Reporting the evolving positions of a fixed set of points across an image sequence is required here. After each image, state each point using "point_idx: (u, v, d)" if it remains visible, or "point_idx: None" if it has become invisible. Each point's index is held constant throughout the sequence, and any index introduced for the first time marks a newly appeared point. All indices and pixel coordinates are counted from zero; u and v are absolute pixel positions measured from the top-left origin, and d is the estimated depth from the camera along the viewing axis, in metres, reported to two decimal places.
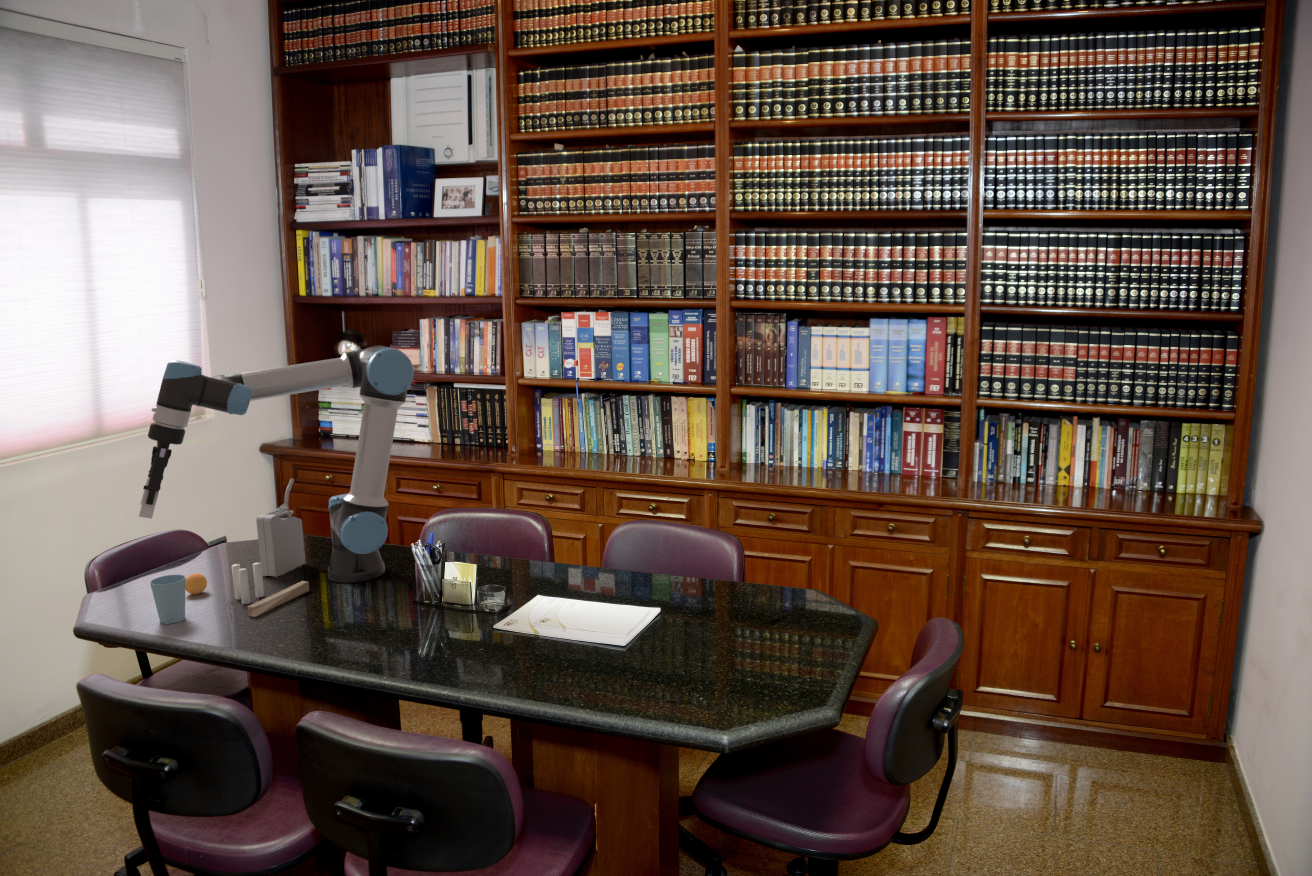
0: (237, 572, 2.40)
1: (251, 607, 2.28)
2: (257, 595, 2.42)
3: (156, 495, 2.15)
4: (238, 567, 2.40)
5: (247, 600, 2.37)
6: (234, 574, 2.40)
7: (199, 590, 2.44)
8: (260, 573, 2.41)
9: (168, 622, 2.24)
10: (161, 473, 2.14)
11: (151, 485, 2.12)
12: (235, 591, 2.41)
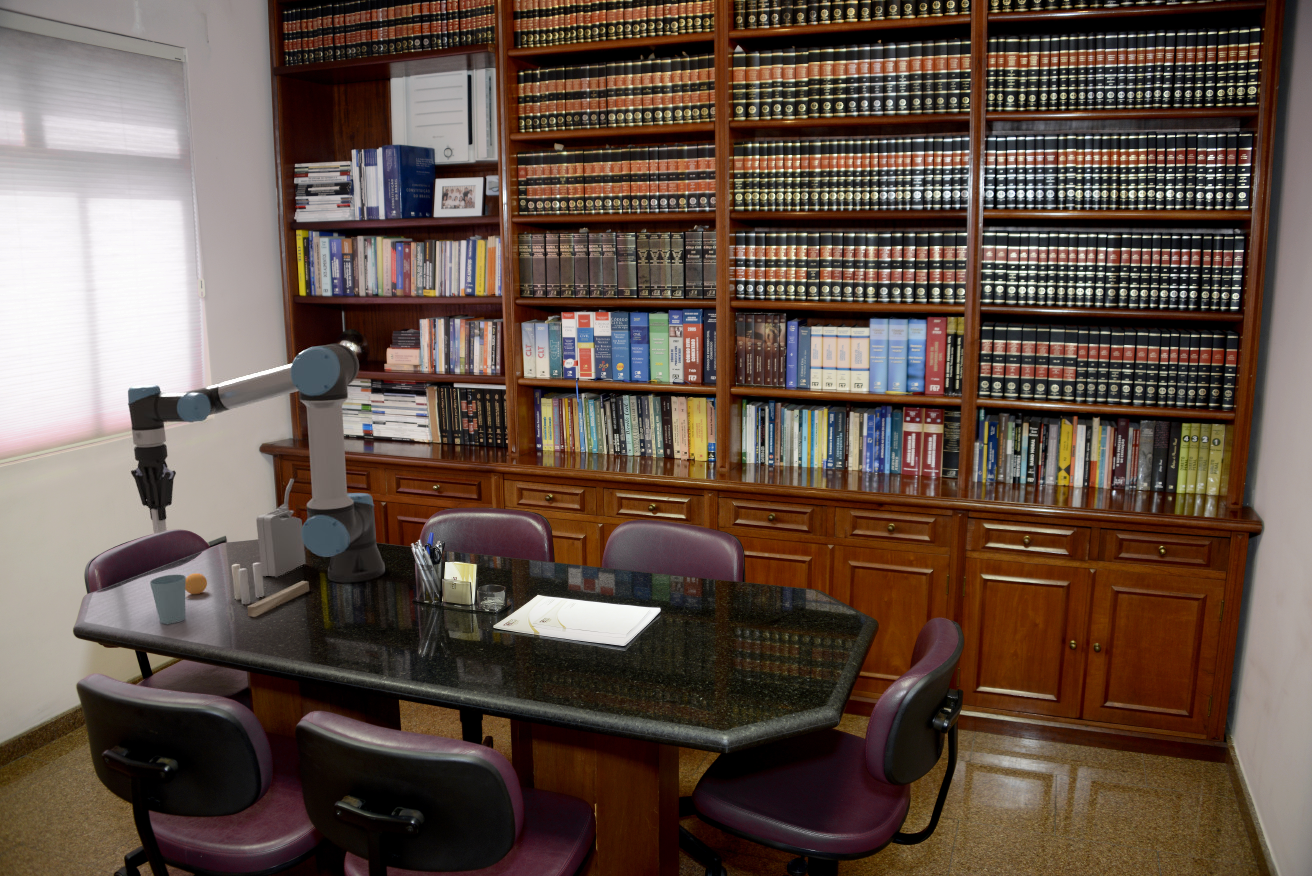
0: (237, 572, 2.40)
1: (251, 607, 2.28)
2: (257, 595, 2.42)
3: None
4: (238, 567, 2.40)
5: (247, 600, 2.37)
6: (234, 574, 2.40)
7: (199, 590, 2.44)
8: (260, 573, 2.41)
9: (168, 622, 2.24)
10: (171, 492, 2.44)
11: (165, 503, 2.44)
12: (235, 591, 2.41)
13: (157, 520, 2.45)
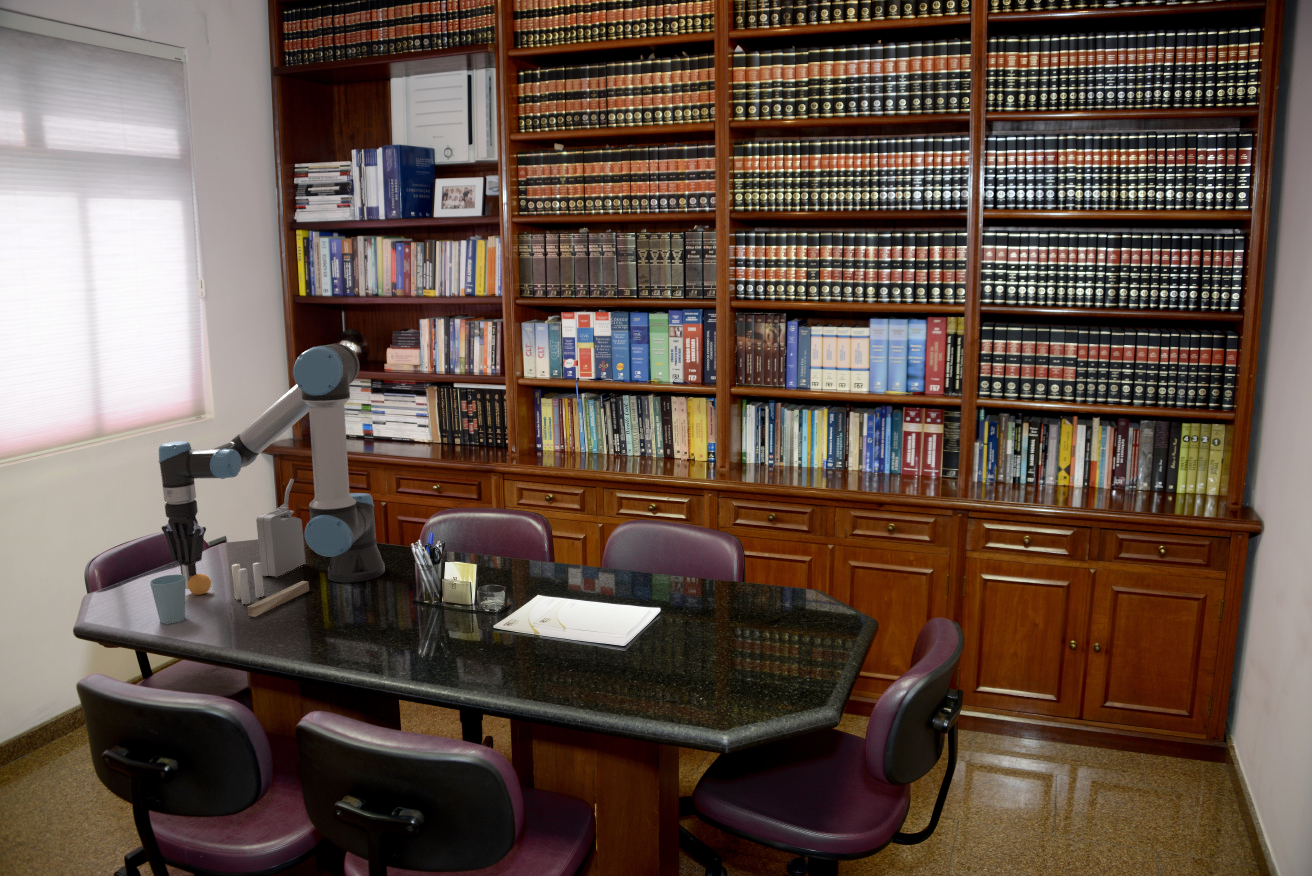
0: (237, 572, 2.40)
1: (251, 607, 2.28)
2: (257, 595, 2.42)
3: None
4: (238, 567, 2.40)
5: (247, 600, 2.37)
6: (234, 574, 2.40)
7: (202, 592, 2.44)
8: (260, 573, 2.41)
9: (168, 622, 2.24)
10: (201, 548, 2.44)
11: (195, 559, 2.44)
12: (235, 591, 2.41)
13: (187, 576, 2.45)
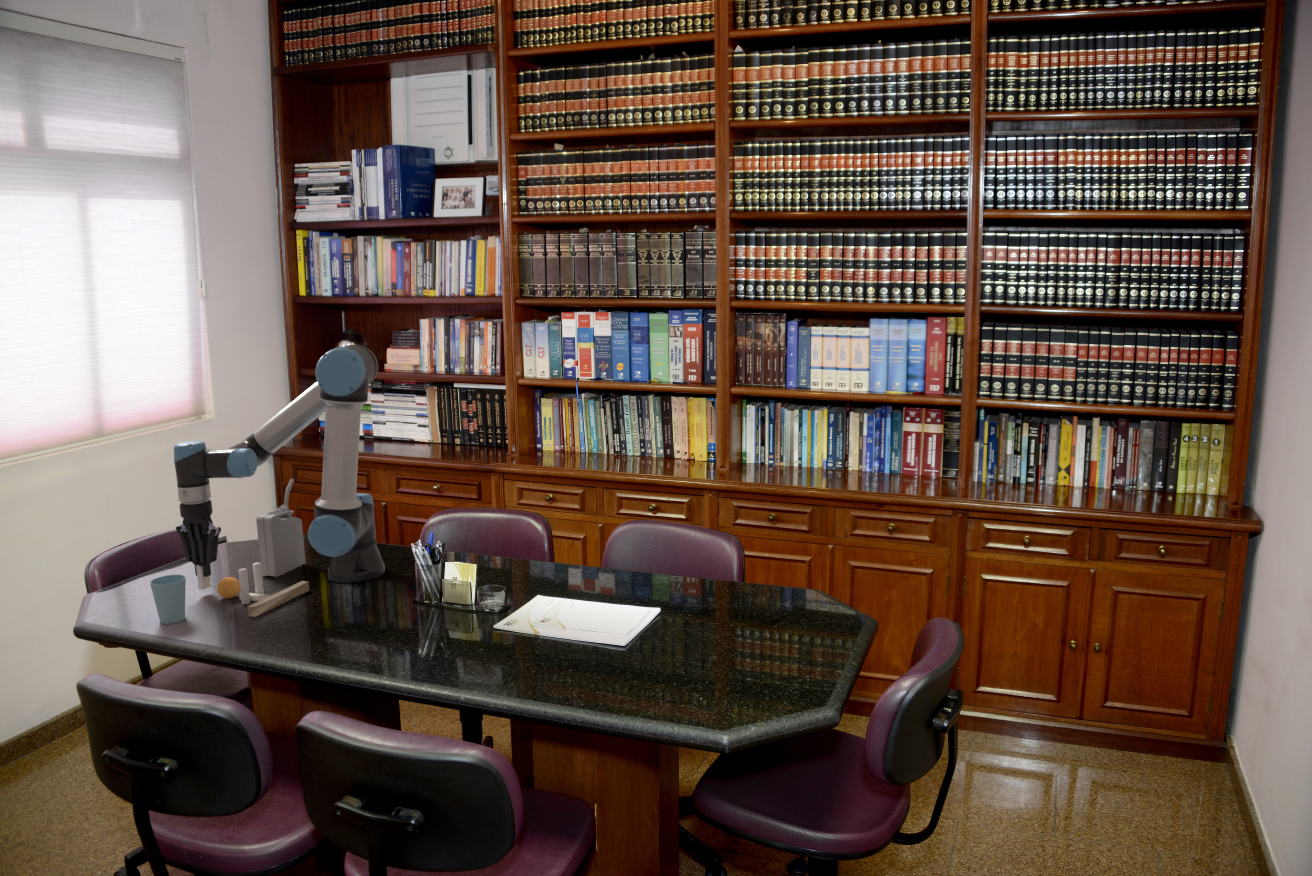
0: None
1: (251, 607, 2.28)
2: None
3: None
4: None
5: (247, 600, 2.37)
6: None
7: (220, 581, 2.41)
8: (260, 573, 2.41)
9: (168, 622, 2.24)
10: (216, 548, 2.42)
11: (210, 559, 2.42)
12: None
13: (202, 576, 2.43)
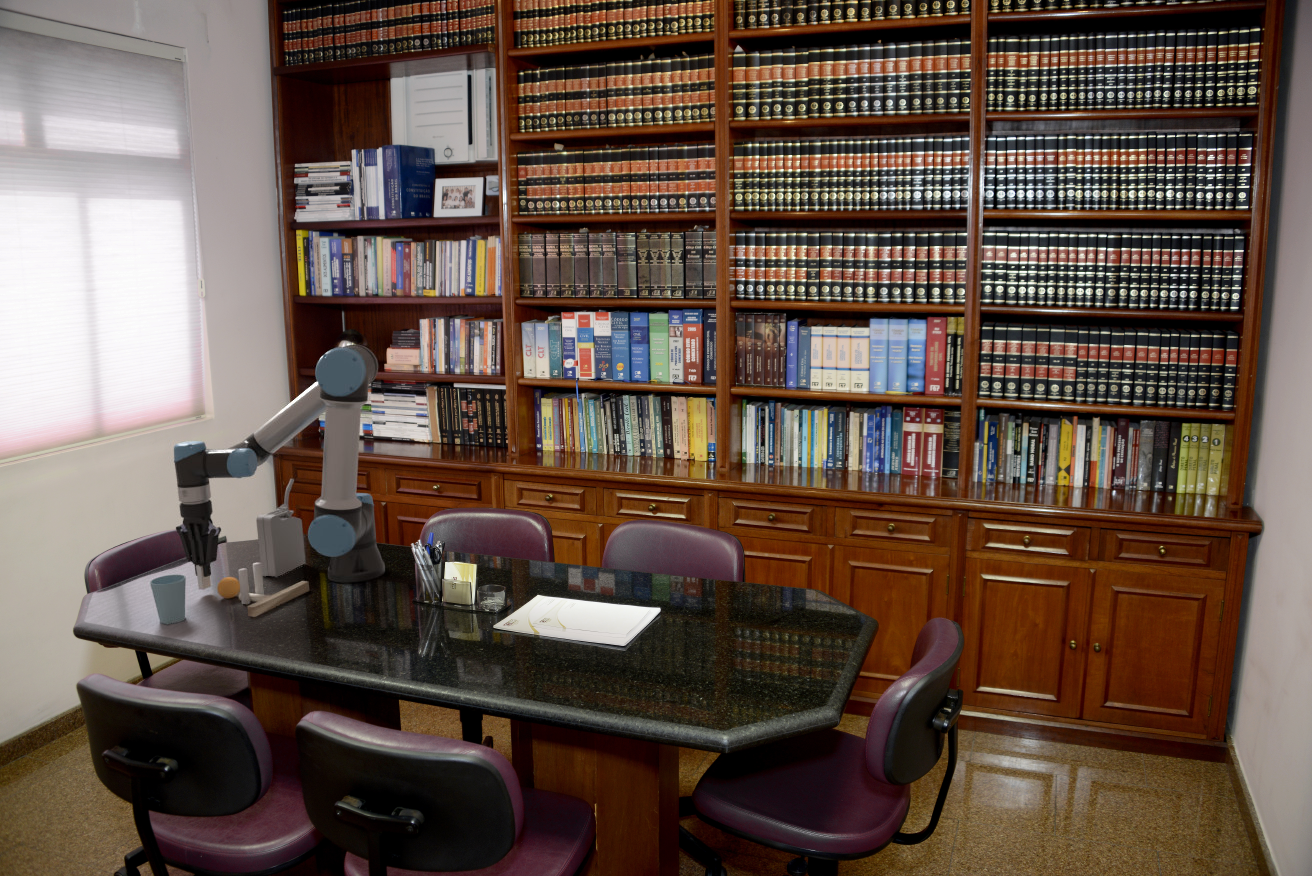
0: None
1: (251, 607, 2.28)
2: None
3: None
4: None
5: (247, 600, 2.37)
6: None
7: (220, 581, 2.41)
8: (260, 573, 2.41)
9: (168, 622, 2.24)
10: (216, 548, 2.42)
11: (210, 559, 2.42)
12: None
13: (202, 576, 2.43)
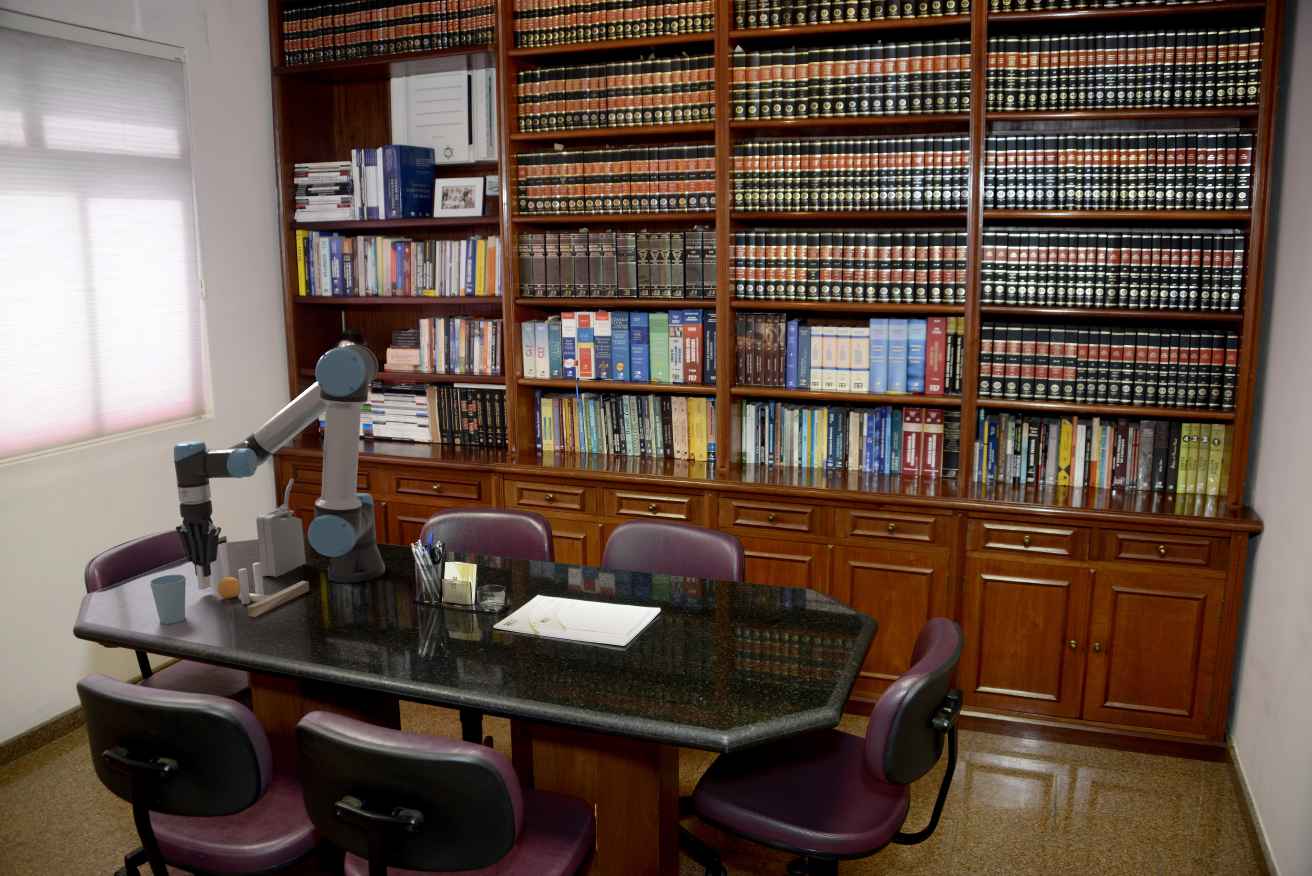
0: None
1: (251, 607, 2.28)
2: None
3: None
4: None
5: (247, 600, 2.37)
6: None
7: (220, 581, 2.41)
8: (260, 573, 2.41)
9: (168, 622, 2.24)
10: (216, 548, 2.42)
11: (210, 559, 2.42)
12: None
13: (202, 576, 2.43)
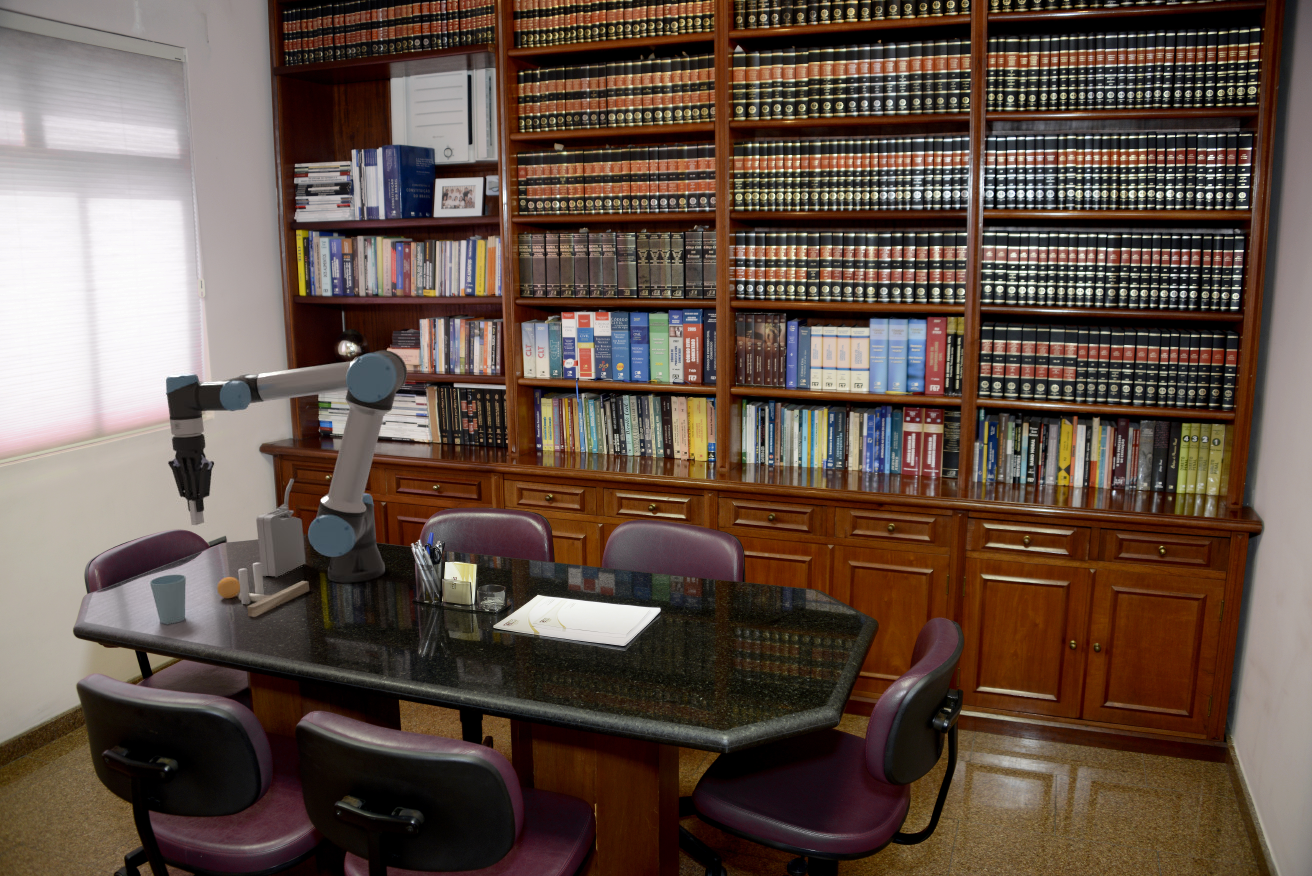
0: None
1: (251, 607, 2.28)
2: None
3: None
4: None
5: (247, 600, 2.37)
6: None
7: (220, 581, 2.41)
8: (260, 573, 2.41)
9: (168, 622, 2.24)
10: (209, 483, 2.39)
11: (203, 494, 2.39)
12: None
13: (195, 512, 2.40)
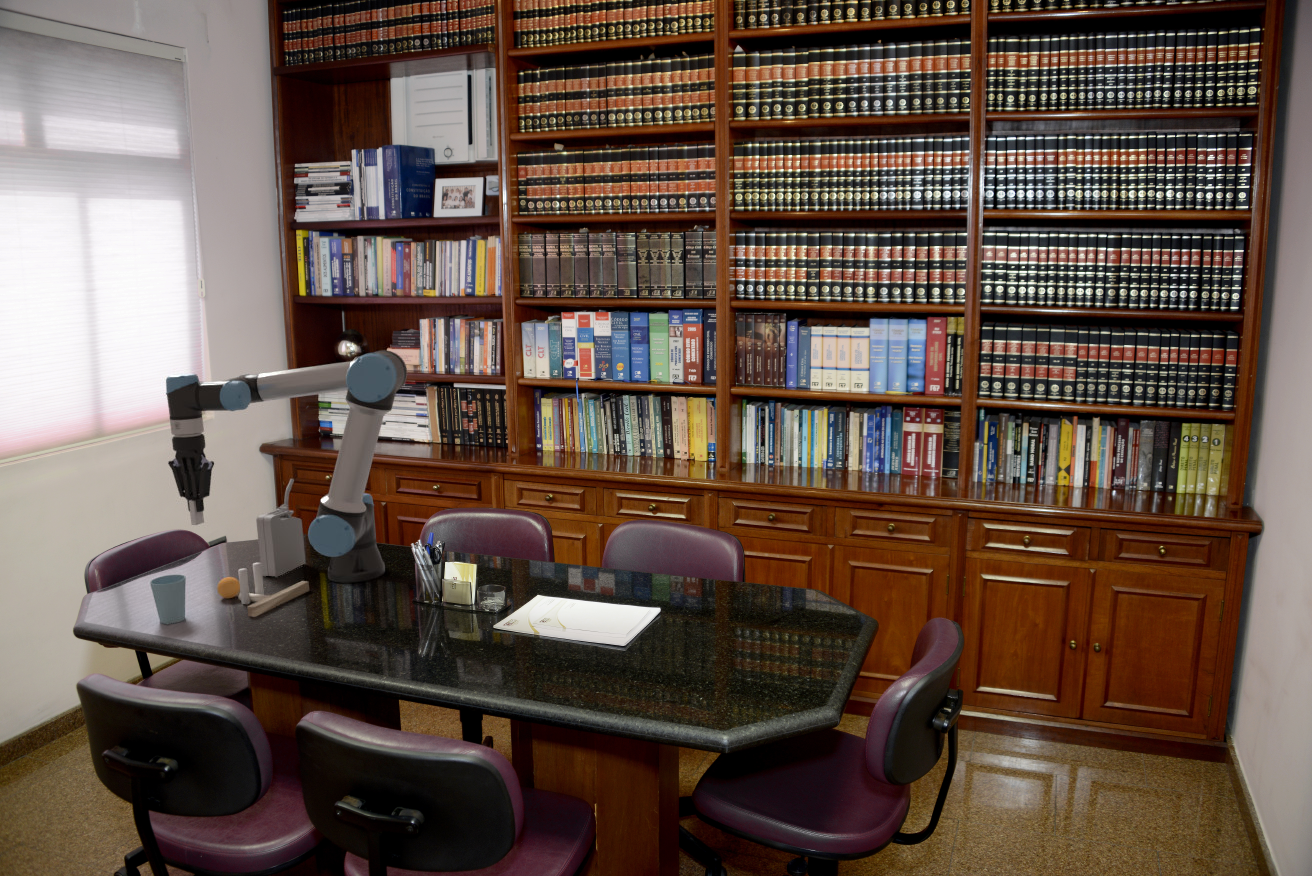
0: None
1: (251, 607, 2.28)
2: None
3: None
4: None
5: (247, 600, 2.37)
6: None
7: (220, 581, 2.41)
8: (260, 573, 2.41)
9: (168, 622, 2.24)
10: (209, 483, 2.39)
11: (203, 494, 2.39)
12: None
13: (195, 512, 2.40)
